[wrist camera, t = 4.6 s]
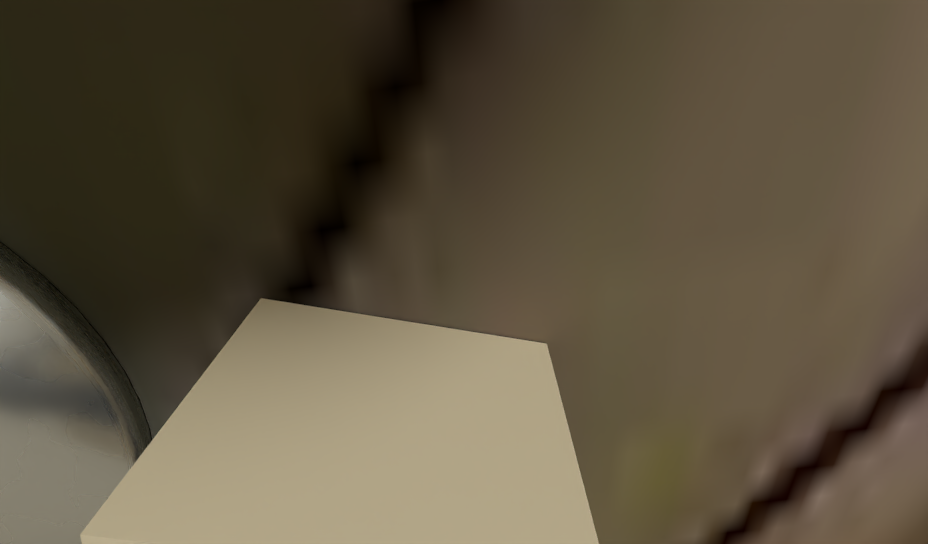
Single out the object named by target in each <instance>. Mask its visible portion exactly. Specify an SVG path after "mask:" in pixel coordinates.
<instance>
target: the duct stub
mask: <svg viewBox="0 0 928 544" xmlns="http://www.w3.org/2000/svg"><path fill="white" fill-rule="evenodd" d="M150 443H151V436H150V431H149V427H148V424H147V421H146V419H145V416H144V413H143V410H142V407H141V404H140V401H139V399H138V397H137V395H136V393H135V391H134V389H133V387H132V385H131V384H130V382H129V380H128V378H127V376H126V374H125V372H124V370H123V369H122V367H121V366H120V364H119V363H118V361H117V360H116V358H115V357H114V355H113V354H112V352H111V351H110V349H109V348H108V346H107V345H106V343H105V342H104V340H103V339H102V338H101V337H100V336H99V334H98V333H97V332H96V331H95V330H94V329H93V327H92V326H91V325H90V324H89V323H88V321H87V320H86V319H85V318H84V317H83V316H82V314H81V313H80V312H79V311H78V310H77V308H76V307H75V306H74V305H72V304H71V303H70V302H69V301H68V300H67V299H66V298H65V297H64V296H63V295H62V294H61V293H60V292H59V291H58V290H57V289H56V288H55V287H54V286H53V285H52V284H51V283H50V282H49V281H48V280H47V279H46V278H44V277H43V276H42V275H41V274H40V273H38V272H37V271H36V270H35V269H33V268H32V267H31V266H30V265H28V264H27V263H26V262H25V261H23V260H22V259H21V258H20V257H18V256H17V255H16V254H15V253H13V252H12V251H11V250H10V249H8V248H7V247H6V246H5V245H3V244H2V243H0V544H82V542H81V536H80V534H81V533H82V531H83V530H84V529H85V527H86V526H87V525H88V524H89V522H90V521H91V520H92V518H93V517H94V516H95V514H96V513H97V512H98V510H99V509H100V508H101V507H102V505H103V504H104V503H105V501H106V500H107V499H108V497H109V496H110V495H111V493H112V492H113V491H114V490H115V488H116V487H117V486H118V484H119V483H120V482H121V480H122V479H123V478H124V477H125V475H126V474H127V473H128V471H129V470H130V469H131V467H132V466H133V465H134V463H135V462H136V461H137V460H138V458H139V457H140V456H141V454H142V453H143V452H144V450H145V449H146V448H147V446H148V445H149V444H150Z"/></svg>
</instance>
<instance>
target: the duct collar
mask: <svg viewBox="0 0 928 544" xmlns="http://www.w3.org/2000/svg"><path fill="white" fill-rule="evenodd" d="M80 536H81V542H82V544H599V542H598V539H597V535H596V531H595V527H594V523H593V519H592V516H591V512H590V508H589V504H588V500H587V496H586V493H585V489H584V485H583V481H582V477H581V473H580V470H579V466H578V462H577V458H576V454H575V450H574V447H573V443H572V439H571V435H570V431H569V427H568V424H567V420H566V416H565V412H564V408H563V404H562V401H561V397H560V393H559V389H558V385H557V382H556V378H555V374H554V370H553V366H552V362H551V359H550V355H549V351H548V347H547V344H545V343H539V342H533V341H526V340H520V339H514V338H508V337H501V336H495V335H489V334H483V333H476V332H470V331H464V330H457V329H451V328H445V327H439V326H432V325H426V324H420V323H414V322H407V321H401V320H395V319H388V318H382V317H376V316H370V315H363V314H357V313H351V312H345V311H338V310H332V309H326V308H319V307H313V306H307V305H301V304H294V303H288V302H282V301H276V300H269V299H263V298H261V299H260V300H259V301H258V303H257V304H256V305H255V307H254V308H253V309H252V311H251V312H250V313H249V315H248V316H247V317H246V318H245V320H244V321H243V322H242V324H241V325H240V326H239V328H238V329H237V330H236V332H235V333H234V334H233V335H232V337H231V338H230V339H229V341H228V342H227V343H226V345H225V346H224V347H223V348H222V350H221V351H220V352H219V354H218V355H217V356H216V358H215V359H214V360H213V362H212V363H211V364H210V365H209V367H208V368H207V369H206V371H205V372H204V373H203V375H202V376H201V377H200V379H199V380H198V381H197V382H196V384H195V385H194V386H193V388H192V389H191V390H190V392H189V393H188V394H187V396H186V397H185V398H184V399H183V401H182V402H181V403H180V405H179V406H178V407H177V409H176V410H175V411H174V413H173V414H172V415H171V416H170V418H169V419H168V420H167V422H166V423H165V424H164V426H163V427H162V428H161V429H160V431H159V432H158V433H157V435H156V436H155V437H154V439H153V440H152V441H151V443H150V444H149V445H148V446H147V448H146V449H145V450H144V452H143V453H142V454H141V456H140V457H139V458H138V460H137V461H136V462H135V463H134V465H133V466H132V467H131V469H130V470H129V471H128V473H127V474H126V475H125V477H124V478H123V479H122V480H121V482H120V483H119V484H118V486H117V487H116V488H115V490H114V491H113V492H112V493H111V495H110V496H109V497H108V499H107V500H106V501H105V503H104V504H103V505H102V507H101V508H100V509H99V510H98V512H97V513H96V514H95V516H94V517H93V518H92V520H91V521H90V522H89V524H88V525H87V526H86V527H85V529H84V530H83V531H82V533H81V534H80Z"/></svg>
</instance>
